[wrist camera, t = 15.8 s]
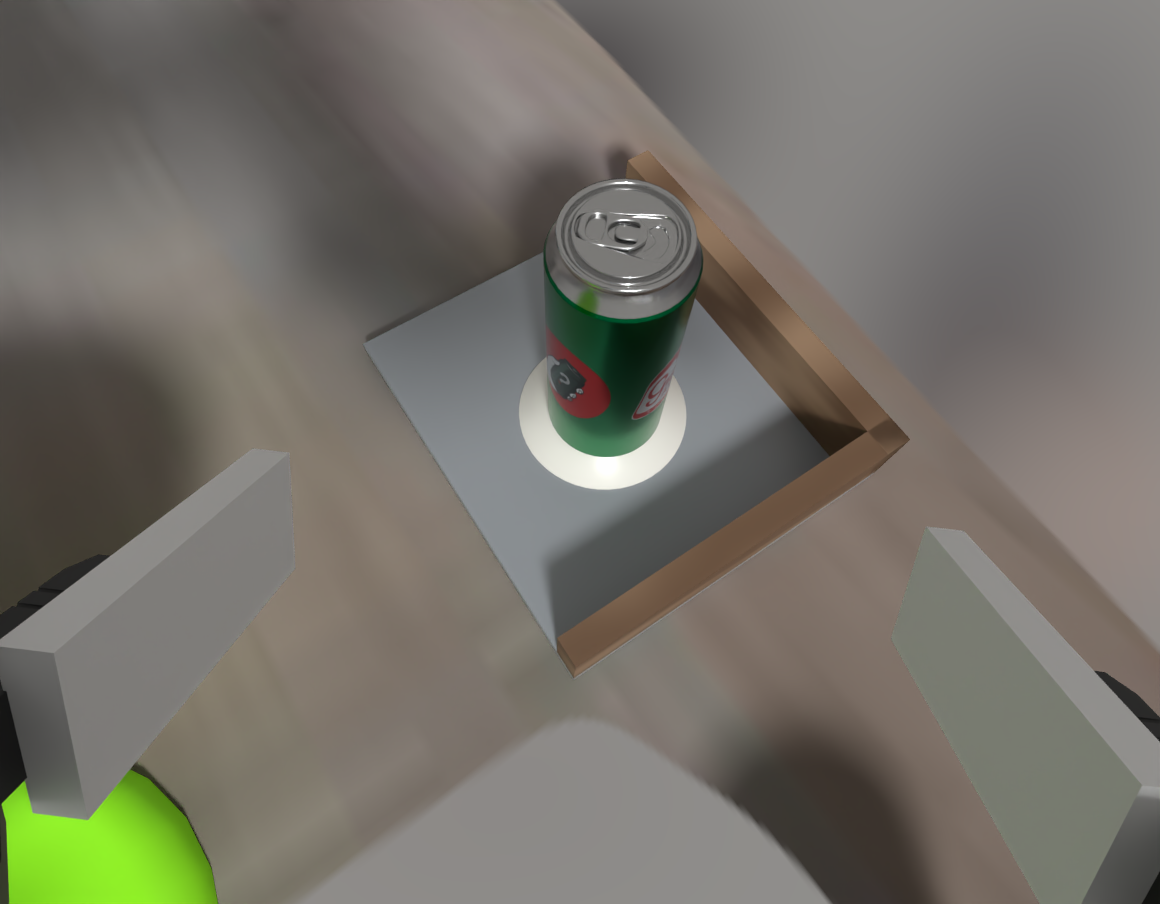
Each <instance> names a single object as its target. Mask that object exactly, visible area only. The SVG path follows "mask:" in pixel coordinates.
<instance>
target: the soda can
mask: <svg viewBox="0 0 1160 904" xmlns="http://www.w3.org/2000/svg"><path fill="white" fill-rule="evenodd" d="M543 264H544V294H545V325H546V355H547V386H548V411H549V416H550V420H551V422H552V425H553V427H554V429H555V430H556V432H557V433H558V435H559V436H560V437H561V438H562V439H563V440H564V441H565V442H566V443H567V444H568V445H570V446H571V447H573V448H574V449H576V450H578V451H580V452H582V453H585V454H588V455H592V456H597V457H615V456H621V455H624V454H627V453H630V452H632V451H634V450H636V449H638V448H639V447H641V446H642V445H643V444H645V443H646V442H647V441H648V440H649V439H650V438H651V436H652V435H653V434H654V432H655V431H656V429H657V426H658V424H659V421H660V418H661V414H662V411H663V407H664V404H665V400H666V397H667V394H668V390H669V387H670V383H671V380H672V376H673V373H674V369H675V366H676V362H677V359H678V355H679V352H680V348H681V345H682V341H683V338H684V335H685V331H686V328H687V324H688V321H689V317H690V314H691V310H692V307H693V303H694V300H695V296H696V293H697V289H698V286H699V282H700V279H701V275H702V271H703V252H702V248H701V245H700V241H699V239H698V237H697V231H696V226H695V223H694V220H693V218H692V216H691V214H690V212H689V210H688V209H687V208H686V207H685V205H684V204H683V203H682V202H681V201H680V200H679V199H678V198H677V197H676V196H674V195H673V194H672V193H670V192H669V191H667V190H665V189H663V188H662V187H660V186H657V185H655V184H652V183H649V182H646V181H641V180H636V179H610V180H604V181H601V182H597V183H594V184H592V185H589V186H587V187H585V188H583V189H582V190H580V191H578V192H577V193H576V194H575V195H573V196H572V197H571V198H570V199H569V200H568V201H567V203H566V204H565V205H564V207H563V208H562V210H561V212H560V214H559V216H558V219H557V221H556V222H555V223H554V224H553V226H552V228H551V229H550V231H549V233H548V235H547V238H546V241H545V245H544V251H543Z"/></svg>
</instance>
